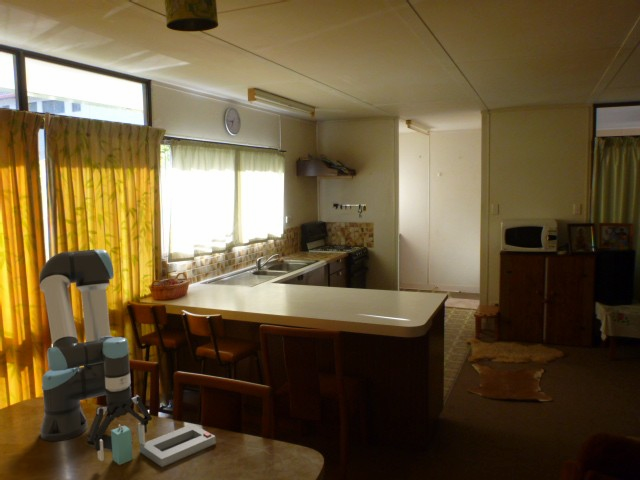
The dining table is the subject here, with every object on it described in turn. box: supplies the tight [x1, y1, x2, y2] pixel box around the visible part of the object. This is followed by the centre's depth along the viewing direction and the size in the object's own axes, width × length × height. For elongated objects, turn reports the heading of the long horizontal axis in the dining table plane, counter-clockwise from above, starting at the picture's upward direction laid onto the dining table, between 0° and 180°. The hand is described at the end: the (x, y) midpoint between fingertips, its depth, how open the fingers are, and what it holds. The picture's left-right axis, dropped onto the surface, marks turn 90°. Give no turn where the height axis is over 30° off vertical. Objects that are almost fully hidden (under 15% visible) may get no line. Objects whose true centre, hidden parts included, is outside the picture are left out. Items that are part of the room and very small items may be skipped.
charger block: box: [110, 424, 134, 466], centre depth 169 cm, size 4×4×11 cm
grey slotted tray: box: [139, 423, 217, 468], centre depth 176 cm, size 14×20×3 cm
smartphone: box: [85, 433, 133, 452], centre depth 181 cm, size 8×1×15 cm
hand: (122, 451), depth 169 cm, fingers open, 13 cm apart
